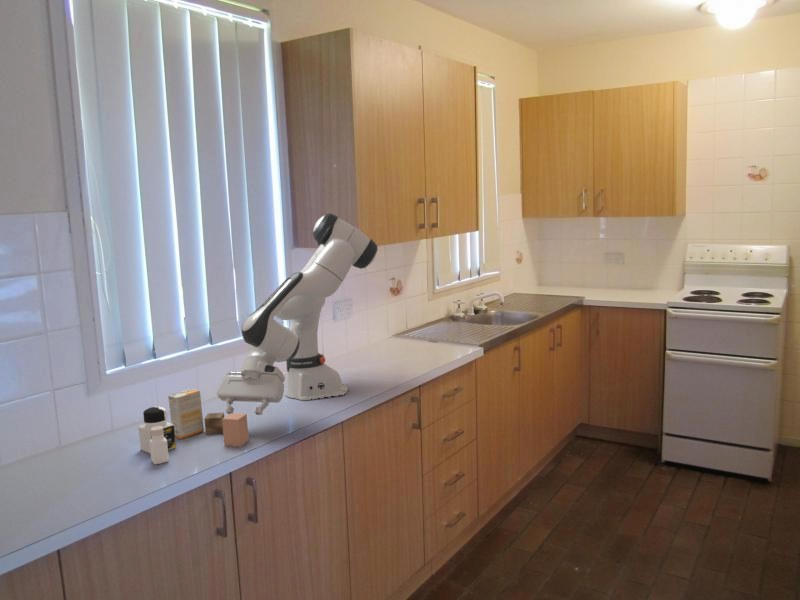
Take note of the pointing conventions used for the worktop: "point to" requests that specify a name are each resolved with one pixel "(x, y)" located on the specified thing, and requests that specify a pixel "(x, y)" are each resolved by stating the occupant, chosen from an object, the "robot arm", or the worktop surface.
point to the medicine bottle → (153, 419)
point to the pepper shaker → (158, 446)
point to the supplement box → (186, 413)
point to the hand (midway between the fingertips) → (243, 413)
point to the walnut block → (214, 423)
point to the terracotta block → (235, 429)
